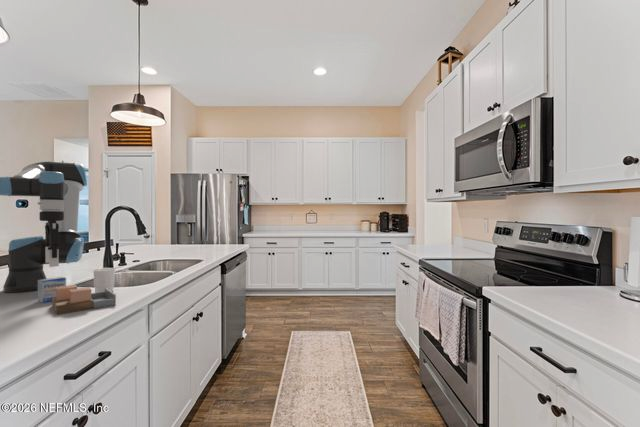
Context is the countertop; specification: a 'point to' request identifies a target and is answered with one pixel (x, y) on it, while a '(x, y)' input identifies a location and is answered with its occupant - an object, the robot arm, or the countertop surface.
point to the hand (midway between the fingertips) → (51, 264)
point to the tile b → (79, 295)
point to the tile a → (64, 291)
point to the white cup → (104, 279)
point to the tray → (103, 299)
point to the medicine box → (49, 288)
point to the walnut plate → (70, 306)
